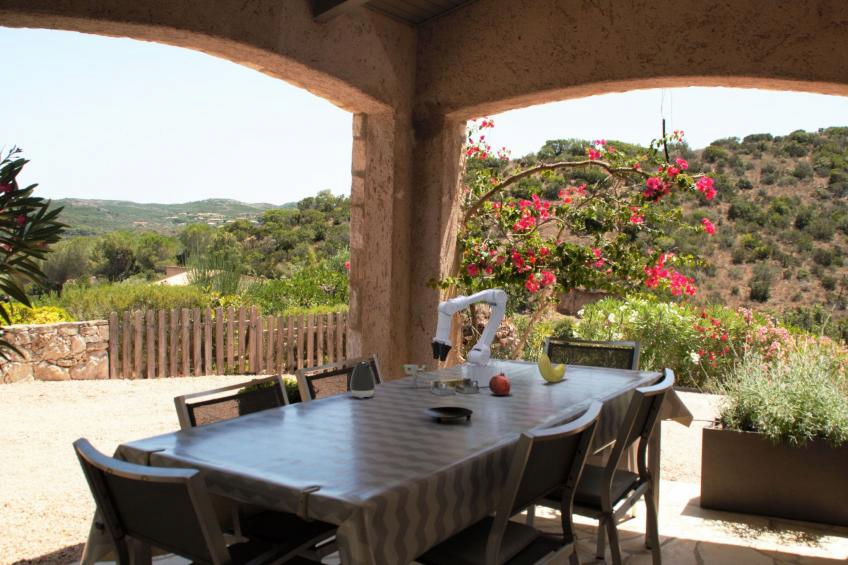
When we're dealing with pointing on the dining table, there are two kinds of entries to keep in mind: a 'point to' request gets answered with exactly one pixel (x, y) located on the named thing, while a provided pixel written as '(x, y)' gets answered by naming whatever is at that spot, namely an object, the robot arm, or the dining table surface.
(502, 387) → the fruit
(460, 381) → the master link
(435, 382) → the chain end
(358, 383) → the dark grey speaker
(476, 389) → the chain end
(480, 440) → the dining table surface
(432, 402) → the dining table surface
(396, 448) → the dining table surface
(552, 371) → the banana
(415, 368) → the mechanical component
